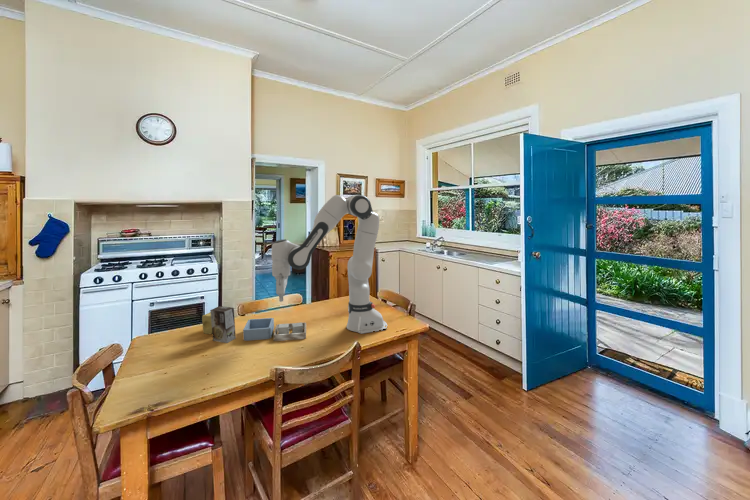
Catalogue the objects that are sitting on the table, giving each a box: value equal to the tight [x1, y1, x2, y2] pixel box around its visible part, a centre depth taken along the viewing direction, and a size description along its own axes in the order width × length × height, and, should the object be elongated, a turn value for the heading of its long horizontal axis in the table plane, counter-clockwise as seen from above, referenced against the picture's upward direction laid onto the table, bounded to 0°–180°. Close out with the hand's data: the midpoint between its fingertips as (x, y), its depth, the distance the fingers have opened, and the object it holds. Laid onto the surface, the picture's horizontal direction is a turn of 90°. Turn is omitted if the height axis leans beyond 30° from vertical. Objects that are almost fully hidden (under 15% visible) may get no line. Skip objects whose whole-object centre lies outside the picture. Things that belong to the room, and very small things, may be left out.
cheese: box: [201, 312, 213, 335], centre depth 170 cm, size 10×11×10 cm
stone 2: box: [291, 322, 304, 333], centre depth 167 cm, size 5×5×5 cm
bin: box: [242, 317, 275, 341], centre depth 167 cm, size 13×15×6 cm
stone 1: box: [277, 323, 290, 335], centre depth 166 cm, size 5×5×5 cm
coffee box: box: [209, 305, 237, 344], centre depth 159 cm, size 9×6×16 cm
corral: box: [273, 322, 307, 342], centre depth 167 cm, size 16×15×3 cm
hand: (282, 298), depth 163 cm, fingers open, 8 cm apart
